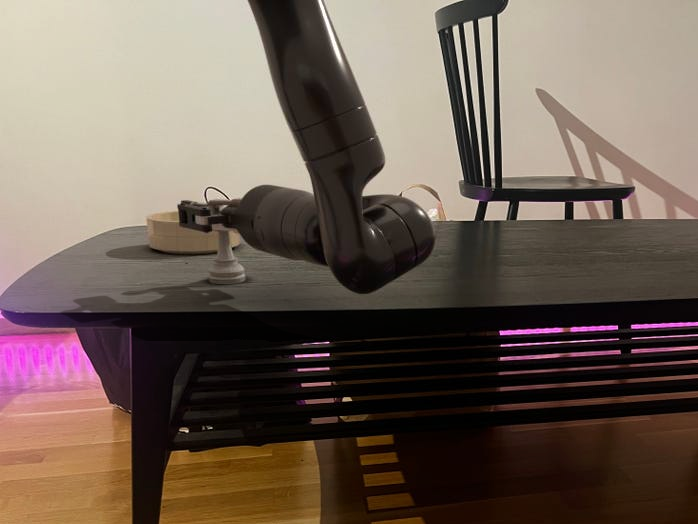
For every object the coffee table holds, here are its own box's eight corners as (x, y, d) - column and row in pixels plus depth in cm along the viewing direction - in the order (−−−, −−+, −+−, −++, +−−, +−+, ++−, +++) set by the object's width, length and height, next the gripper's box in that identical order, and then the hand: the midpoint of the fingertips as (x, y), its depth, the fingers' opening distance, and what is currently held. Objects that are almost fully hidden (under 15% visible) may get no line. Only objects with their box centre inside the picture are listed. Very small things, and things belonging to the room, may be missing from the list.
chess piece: (249, 277, 92) (243, 200, 89) (240, 285, 88) (233, 204, 84) (215, 276, 92) (208, 199, 88) (204, 284, 87) (196, 203, 84)
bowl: (171, 259, 101) (168, 224, 100) (136, 246, 110) (132, 213, 108) (255, 249, 110) (253, 217, 109) (216, 238, 119) (213, 208, 117)
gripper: (340, 185, 80) (267, 174, 91) (222, 190, 71) (156, 177, 81) (342, 250, 83) (271, 232, 93) (229, 264, 73) (163, 242, 84)
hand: (217, 207), depth 87 cm, fingers open, 8 cm apart
